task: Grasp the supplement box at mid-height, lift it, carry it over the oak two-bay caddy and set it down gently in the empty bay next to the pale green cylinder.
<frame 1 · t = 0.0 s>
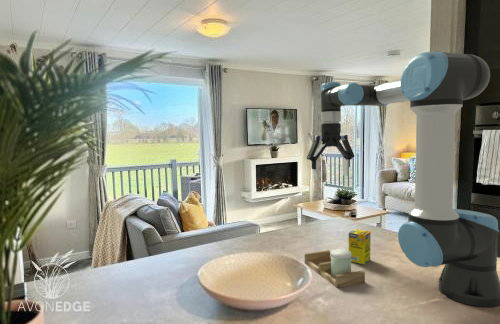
hand: (331, 176, 133), 28 cm above the kitchen island, fingers open, 13 cm apart
caddy: (332, 274, 108), on the kitchen island
pale green cylinder: (341, 278, 103), point 1 cm above the kitchen island, touching caddy
supplement box: (359, 262, 117), on the kitchen island
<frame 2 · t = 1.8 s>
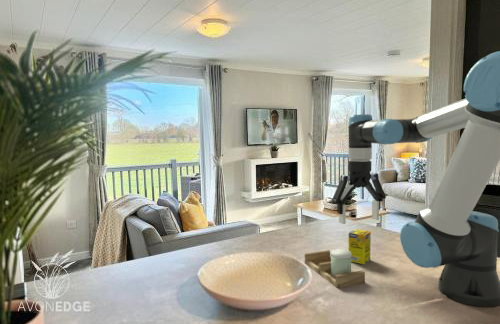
hand: (359, 221, 116), 15 cm above the kitchen island, fingers open, 13 cm apart
nothing on the kitchen island moved.
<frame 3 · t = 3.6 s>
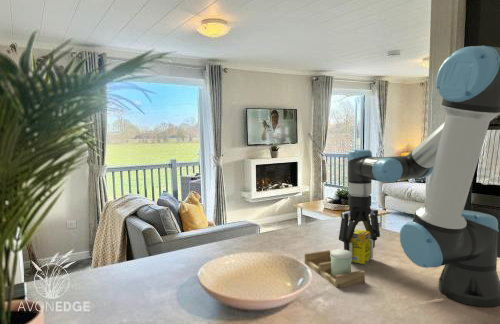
hand: (359, 258, 117), 1 cm above the kitchen island, fingers closed on supplement box, 8 cm apart
supplement box: (359, 262, 117), on the kitchen island, touching gripper
everything else where it was.
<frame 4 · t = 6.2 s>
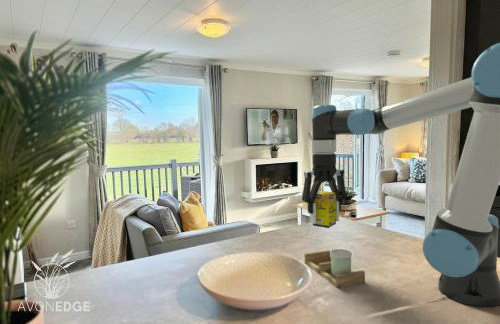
hand: (324, 221, 111), 16 cm above the kitchen island, fingers closed on supplement box, 8 cm apart
supplement box: (324, 225, 111), point 15 cm above the kitchen island, touching gripper
everything else where it was.
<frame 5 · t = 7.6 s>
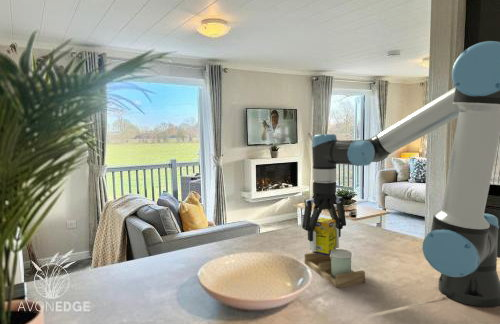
hand: (324, 248, 112), 7 cm above the kitchen island, fingers closed on supplement box, 8 cm apart
supplement box: (324, 252, 112), point 5 cm above the kitchen island, touching gripper
everything else where it was.
when the fingers open (3 cm above the kitchen island, at t = 8.8 s): supplement box stays where it is, resting on caddy.
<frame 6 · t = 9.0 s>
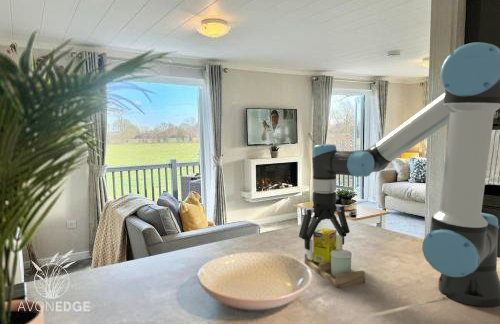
hand: (324, 256, 112), 4 cm above the kitchen island, fingers open, 10 cm apart
supplement box: (324, 263, 112), point 2 cm above the kitchen island, touching caddy
everything else where it was.
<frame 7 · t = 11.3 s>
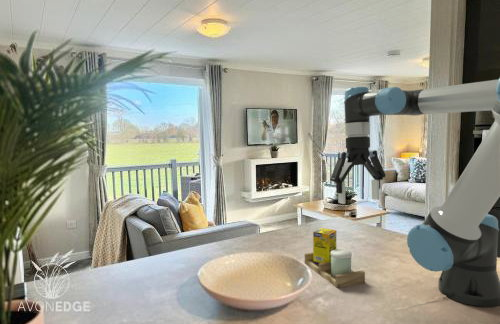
hand: (359, 201, 109), 23 cm above the kitchen island, fingers open, 13 cm apart
nothing on the kitchen island moved.
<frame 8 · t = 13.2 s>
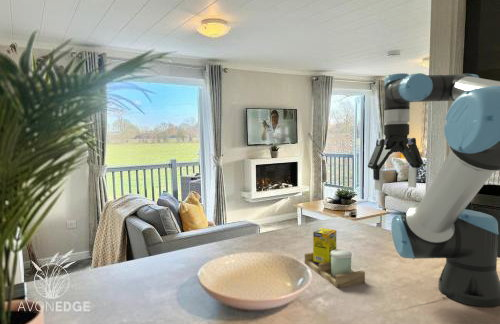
hand: (395, 188, 110), 27 cm above the kitchen island, fingers open, 13 cm apart
nothing on the kitchen island moved.
at the end: supplement box 0.2 cm from the target spot on the caddy, point 1.8 cm above the caddy's base; supplement box tilted 0°; the gripper is holding nothing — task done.
